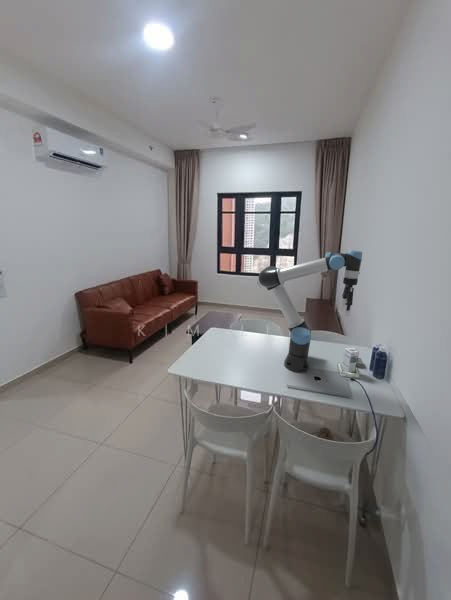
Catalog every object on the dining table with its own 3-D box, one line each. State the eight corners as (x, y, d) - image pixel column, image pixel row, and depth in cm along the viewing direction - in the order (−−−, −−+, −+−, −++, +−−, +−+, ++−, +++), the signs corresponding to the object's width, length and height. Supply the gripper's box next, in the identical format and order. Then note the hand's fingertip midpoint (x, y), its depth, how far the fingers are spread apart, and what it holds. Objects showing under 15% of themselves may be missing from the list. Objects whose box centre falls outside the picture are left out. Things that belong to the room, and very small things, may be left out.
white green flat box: (339, 376, 157) (340, 371, 157) (337, 365, 170) (337, 361, 169) (359, 379, 155) (360, 375, 154) (354, 368, 167) (355, 364, 167)
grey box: (350, 370, 165) (351, 364, 164) (347, 360, 177) (347, 355, 176) (364, 372, 163) (365, 367, 162) (360, 362, 175) (361, 357, 174)
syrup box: (347, 374, 158) (351, 352, 155) (340, 369, 164) (344, 347, 160) (355, 373, 160) (359, 351, 156) (348, 368, 165) (352, 347, 161)
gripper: (362, 282, 144) (355, 319, 150) (354, 274, 167) (348, 307, 173) (347, 280, 146) (340, 317, 152) (341, 273, 169) (335, 305, 175)
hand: (344, 312), depth 162 cm, fingers open, 13 cm apart
